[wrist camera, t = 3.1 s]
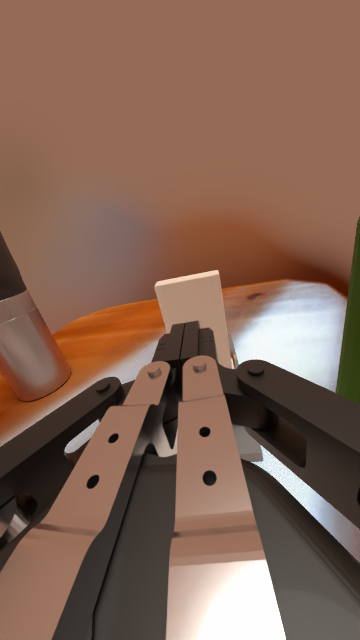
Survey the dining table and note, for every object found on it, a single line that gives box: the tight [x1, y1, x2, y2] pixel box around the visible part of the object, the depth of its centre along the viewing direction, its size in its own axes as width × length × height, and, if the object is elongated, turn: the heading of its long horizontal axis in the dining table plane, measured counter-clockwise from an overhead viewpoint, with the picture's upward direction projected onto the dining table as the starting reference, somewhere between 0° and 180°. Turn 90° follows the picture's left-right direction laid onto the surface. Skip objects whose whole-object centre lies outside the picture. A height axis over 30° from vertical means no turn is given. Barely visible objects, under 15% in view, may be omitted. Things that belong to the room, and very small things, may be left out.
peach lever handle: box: [154, 270, 235, 369], centre depth 21 cm, size 4×6×16 cm
